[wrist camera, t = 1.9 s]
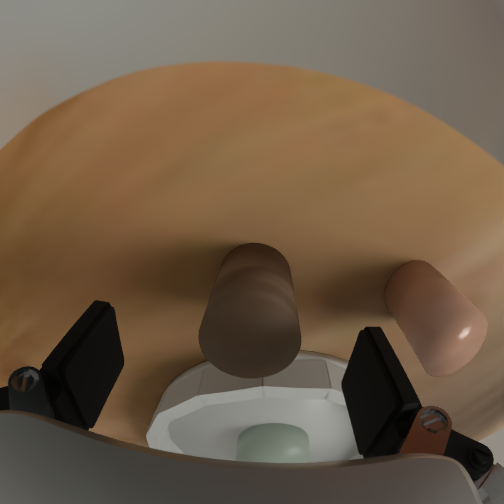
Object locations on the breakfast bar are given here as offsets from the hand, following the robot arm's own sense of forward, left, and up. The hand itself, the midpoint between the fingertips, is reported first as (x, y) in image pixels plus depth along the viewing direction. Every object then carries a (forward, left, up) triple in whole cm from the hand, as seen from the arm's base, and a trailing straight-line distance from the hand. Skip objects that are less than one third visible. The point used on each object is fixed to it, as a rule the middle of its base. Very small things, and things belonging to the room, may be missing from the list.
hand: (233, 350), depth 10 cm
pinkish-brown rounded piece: (-11, 0, -7) cm, 13 cm away
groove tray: (-4, +15, -7) cm, 17 cm away
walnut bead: (-1, 0, -7) cm, 7 cm away
